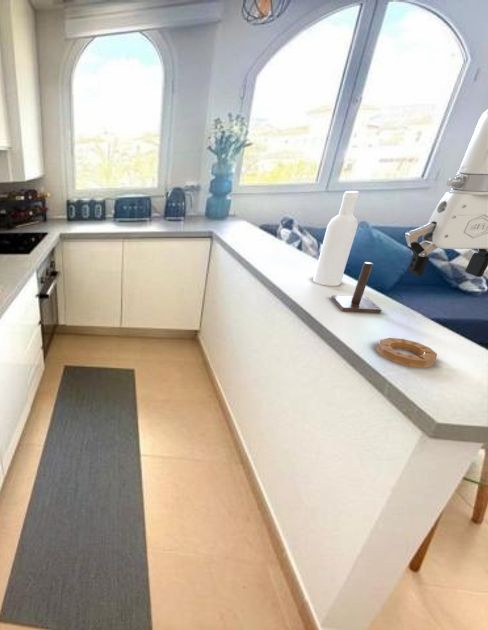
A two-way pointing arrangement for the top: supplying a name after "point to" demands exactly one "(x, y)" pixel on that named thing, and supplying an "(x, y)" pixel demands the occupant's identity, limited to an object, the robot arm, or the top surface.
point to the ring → (423, 360)
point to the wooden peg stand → (358, 295)
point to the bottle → (337, 243)
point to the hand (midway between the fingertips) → (443, 274)
